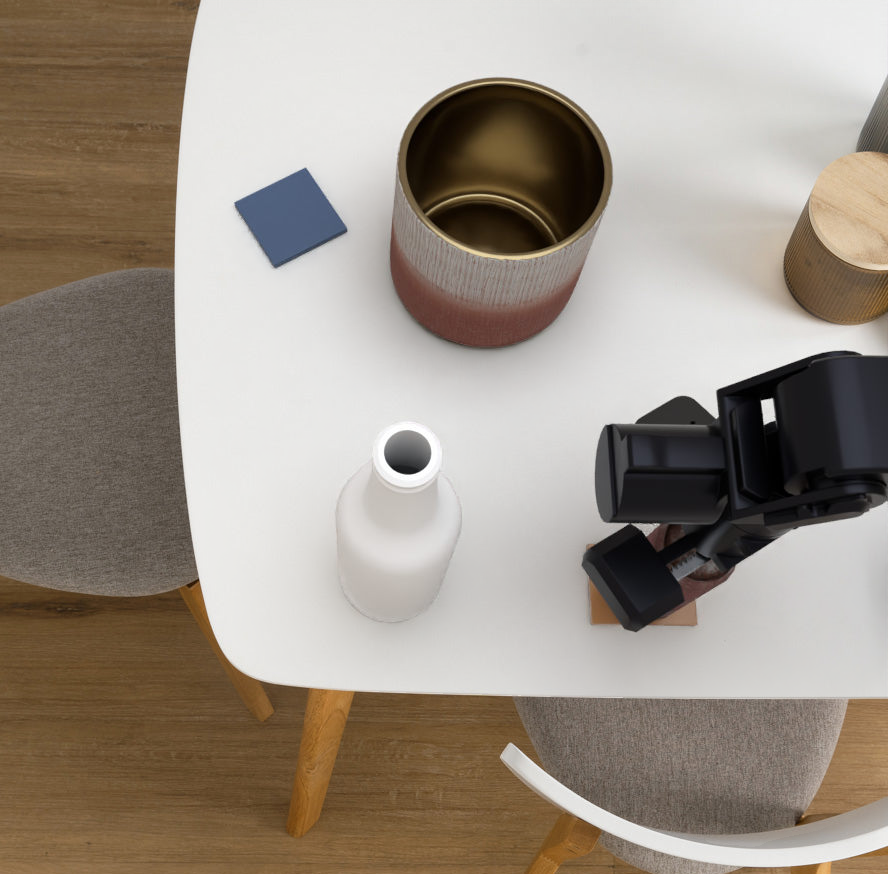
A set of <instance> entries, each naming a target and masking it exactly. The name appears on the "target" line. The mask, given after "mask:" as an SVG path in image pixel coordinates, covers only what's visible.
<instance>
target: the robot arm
mask: <svg viewBox="0 0 888 874" xmlns="http://www.w3.org/2000/svg"><path fill="white" fill-rule="evenodd" d="M715 394H716V395H715V396H716V404H717V414H718V417H717V418H716V417H715V416H713V414H712V413H710V412H709V410H707V409H706V408H705V407H704V406H703V405H702V404H700V403H699V402H698V401H697V400H696V399H695V398H693V397H691V396H689V395H677V396H676V397H673V398H671V399H669V400H668V401H666V402H664V403H663V404H661V405H659V406H657V407H656V408H654V409H652V410H651V411H649V412H647V413H645V414H644V415H642V416H640V417H638V419H637V420H636V421H635V422H634V423H609V424H604V426H603V427H602V429H601V432H600V434H599V436H598V437H599V438H598V441H597V447H596V452H595V459H594V460H595V461H594V494H595V501H596V507H597V511H598V514H599V516H600V519H601V520H602V522H604V523H606V524H627V525H625V526H623V527H622V528H620V529H618V530H617V531H615V532H613V533H612V534H610V535H609V536H607V537H605V538H603V539H602V540H600V541H598V542H597V543H594V544H595V545H594V546H592V547H590V548H589V549H588V550H587V549H586V551H585V552H584V553H583V554H582V559H581V565H580V566H581V568H582V569H583V570H584V573H585V574H586V575H587V577H588V576H589V578H590V579H591V581H592V582H593V584H594V585H595V587H596V588H597V590H598V591H599V593H600V594H601V596H602V597H603V599H604V600H605V602H606V603H607V604H608V606H609V607H610V609H611V610H612V612H613V613H614V615H615V616H616V618H617V619H618V621H619V622H620V624H621V625H620V626H621V627H622V628H623V629H624V631H629V632H633V633H637V632H639V631H641V630H642V629H644V628H645V627H648V626H650V625H649V624H650V623H652V622H654V621H655V620H657V619H658V618H660V617H661V616H663V615H665V614H666V613H668V612H669V611H671V610H672V609H674V608H676V607H677V606H679V605H680V604H682V603H683V602H685V599H684V595H683V591H682V587H681V585H680V584H679V583H678V581H679V580H681V579H682V578H684V577H686V576H687V575H689V574H690V573H692V572H694V571H695V570H697V569H698V568H700V567H701V566H703V565H705V564H706V563H708V562H709V561H711V560H712V561H713V562H714V563H715V565H716V566H717V568H718V569H719V570H720V572H721V573H724V572H726V571H727V570H729V569H730V568H732V567H733V566H735V565H736V566H737V565H739V564H740V563H742V562H743V561H745V560H746V559H748V558H749V557H752V556H753V555H755V554H756V553H758V552H759V551H761V550H762V549H765V548H766V547H767V546H768V545H770V544H772V543H774V542H775V541H777V540H778V539H780V538H781V537H783V536H784V535H786V534H787V533H789V532H791V531H793V530H797V529H799V528H801V527H807V526H813V525H819V524H825V523H830V522H837V521H842V520H848V519H849V520H850V519H854V518H859V517H862V516H863V515H864V514H866V513H868V512H869V513H870V510H871V509H875V508H877V507H879V506H882V505H884V504H885V503H887V502H888V355H877V354H876V355H875V354H874V355H873V354H871V355H870V354H869V355H867V354H862V353H860V352H857V351H855V350H830V351H824V352H820V353H816V354H813V355H812V354H811V355H810V356H806V357H804V358H801V359H799V360H795V361H793V362H790V363H787V364H784V365H782V366H779V367H776V368H773V369H769V370H767V371H765V372H762V373H759V374H756V375H754V376H750V377H748V378H745V379H742V380H739V381H737V382H734V383H732V384H727V385H725V386H723V387H720V388H717V389H716V392H715ZM771 399H772V404H773V412H774V420H772V421H769V422H767V423H765V422H764V413H763V406H762V401H767V400H771ZM634 524H641V525H642V524H645V525H646V524H647V525H648V524H649V525H651V524H652V525H660V524H681V525H682V529H683V532H684V534H685V536H683V537H681V538H680V539H678V540H677V541H675V542H673V543H672V544H670V545H669V546H667V547H665V548H664V549H662V550H660V551H659V552H657V551H656V550H655V548H654V547H653V546H652V544H651V543H650V541H649V540H648V539H647V536H646V534H645V533H644V531H643V530H642V529H640V528H639V527H637V526H636V525H634ZM693 549H696V550H697V551H698V552H699V553H698V552H697V551H696V552H695V553H694V555H695V556H694V555H692V554H691V555H690V556H689V557H690V559H689V558H688V557H687V558H685V562H684V561H683V560H682V561H680V564H678V563H677V564H676V565H675V567H676V568H675V567H674V566H672V567H671V568H670V569H671V571H670V570H669V568H668V567H667V565H669V564H670V563H672V562H673V561H675V560H677V559H678V558H680V557H681V556H683V555H685V554H686V553H688V552H689V551H691V550H693ZM589 578H588V579H589Z"/></svg>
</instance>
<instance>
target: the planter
mask: <svg viewBox="0 0 888 874" xmlns="http://www.w3.org/2000/svg"><path fill="white" fill-rule="evenodd" d="M398 145H399V146H398V149H397V156H396V167H395V169H396V170H395V183H394V194H393V195H394V196H393V207H392V217H391V218H392V220H391V231H390V243H389V264H390V265H389V266H390V274H391V278H392V282H393V285H394V286H393V287H394V289H395V290H396V293H397V295H398V298H399V299H400V301H401V302H402V304H403V305H404V307H405V308H406V310H407V311H408V312H409V313H410V315H411V316H412V317H413V318H414V319H415V320H416V321H417V322H418V323H419V324H421V325H422V326H423V327H425V328H426V329H427V330H429V331H431V332H432V333H434V334H435V335H437V336H438V337H441V338H443V339H445V340H448V341H450V342H452V343H456V344H460V345H464V346H470V347H474V348H500V347H505V346H510V345H515V344H517V343H521V342H524V341H526V340H528V339H531V338H532V337H534V336H536V335H538V334H539V333H541V332H542V331H544V330H545V329H547V328H548V327H549V326H551V324H553V322H554V321H556V320H557V319H558V317H559V316H561V313H562V312H563V311H564V309H565V307H566V306H567V304H568V303H569V301H570V300H571V297H572V295H573V293H574V291H575V289H576V286H577V284H578V281H579V279H580V277H581V274H582V271H583V268H584V266H585V263H586V260H587V258H588V255H589V253H590V250H591V247H592V246H593V245H592V244H593V242H594V239H595V237H596V235H597V233H598V229H599V228H600V225H601V222H602V220H603V217H604V216H605V212H606V210H607V207H608V205H609V202H610V198H611V196H612V191H613V186H614V165H613V160H612V155H611V151H610V148H609V145H608V143H607V140H606V137H605V135H603V132H602V131H601V129H600V128H599V126H598V125H597V124H596V122H595V121H594V120H593V118H592V117H591V116H590V115H589V114H588V112H587V111H585V110H584V108H582V107H581V106H580V105H579V104H577V102H575V101H574V100H573V99H571V98H569V97H568V96H566V95H565V94H563V93H561V92H559V91H558V90H556V89H553V88H551V87H549V86H547V85H544V84H542V83H538V82H535V81H531V80H528V79H522V78H515V77H506V76H505V77H502V76H496V77H495V76H494V77H483V78H475V79H471V80H467V81H464V82H461V83H460V82H459V83H457V84H455V85H452V86H450V87H448V88H446V89H444V90H442V91H441V92H439V93H437V94H435V95H434V96H433V97H432V98H430V99H429V100H427V102H425V103H424V104H423V105H422V106H421V107H420V108H419V109H418V110H417V111H416V113H414V115H413V116H412V118H411V119H410V121H409V122H408V124H407V126H406V127H405V129H404V132H403V134H402V136H401V139H400V142H399V144H398Z"/></svg>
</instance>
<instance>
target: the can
mask: <svg viewBox="0 0 888 874" xmlns="http://www.w3.org/2000/svg"><path fill="white" fill-rule="evenodd" d="M683 536H685V534H684V532H683V529H682V525H681V524H658V525H657V526H656V527H655V528H654V529H653V530H652V531H651V532H650V533H649V534H648V535H647V536H646V537H647V539H648V540H649V541H650V543H651V544H652V546H653V547H654V548H655V550H656V551H657V552H659V551H660V550H662V549H664V548H665V547H667V546H669V545H670V544H672V543H673V542H675V541H677V540H678V539H680V538H681V537H683ZM696 551H697V550H696V549H693V550H691V551H689V552H688V553H686V554H685V555H683V556H681V557H680V558H678V559H677V560H675V561H673V562H672V563H670V564H669V565H667V567H668V568H669V570H670V571H671V569H670V568H671V567H672V566H674V567H675V565H676V564H677V563H678V564H680V561H682V560H683V561H684V562H685V558H687V557H688V558H689V559H690V557H689V556H690V555H691V554H692V555H694V553H695V552H696ZM697 552H698V551H697ZM698 553H699V552H698ZM694 556H695V555H694ZM736 567H737V565H735V566H733V567H732V568H730V569H729V570H727V571H726V572H724V573H721V572H720V570H719V569H718V568H717V566H716V565H715V563H714V562H713V561H712V560H711V561H709V562H708V563H706V564H705V565H703V566H701V567H700V568H698V569H697V570H695V571H694V572H692V573H690V574H689V575H687V576H686V577H684V578H682V579H681V580H679V581H678V583H679V584H680V585H681V587H682V591H683V595H684V599H685V602H683V603H682V604H680V605H679V606H677V607H676V608H674V609H672V610H671V611H669V612H668V613H666V614H665V615H663V616H661V617H660V618H658V619H657V620H659V619H664V618H666V617H667V616H669V615H671V614H672V613H674V612H676V611H677V610H679V609H681V608H682V607H684V606H686V605H687V604H689V603H691V602H692V601H694V600H695V601H696V600H697V599H699V598H700V597H702V596H704V595H706V594H708V592H710V591H712V590H714V589H715V588H717V587H719V586H721V585H722V584H723V583H725V582H727V581H728V579H729V578H730V577H731V576H732V575H733V573H734V572H735V570H736ZM675 568H676V567H675Z"/></svg>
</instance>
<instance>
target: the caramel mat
mask: <svg viewBox="0 0 888 874" xmlns="http://www.w3.org/2000/svg"><path fill="white" fill-rule="evenodd" d="M595 544H596V543H588V544H586V551H587V550H588V549H589V548H590V547H592V546H594V545H595ZM587 577H588V593H589V609H590V625H592V626H622V625H621V624H620V622H619V621H618V619H617V618H616V616H615V615H614V613H613V612H612V610H611V609H610V607H609V606H608V604H607V603H606V602H605V600H604V599H603V597H602V596H601V594H600V593H599V591H598V590H597V588H596V587H595V585H594V584H593V582H592V581H591V579H590V578H589V576H588V575H587ZM696 603H697V602H696V599H695V600H694V601H692V602H691V603H689V604H687V605H686V606H684V607H682V608H681V609H679V610H677V611H676V612H674V613H672V614H671V615H669V616H667V617H666V618H664V619H659V620H655V621H654V622H652V623H650V624H649V625H648V626H655V627H657V626H662V627H663V626H664V627H667V626H668V627H669V626H670V627H672V626H673V627H696V626H698V625H699V624H698V623H699V622H698V613H697V604H696Z"/></svg>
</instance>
